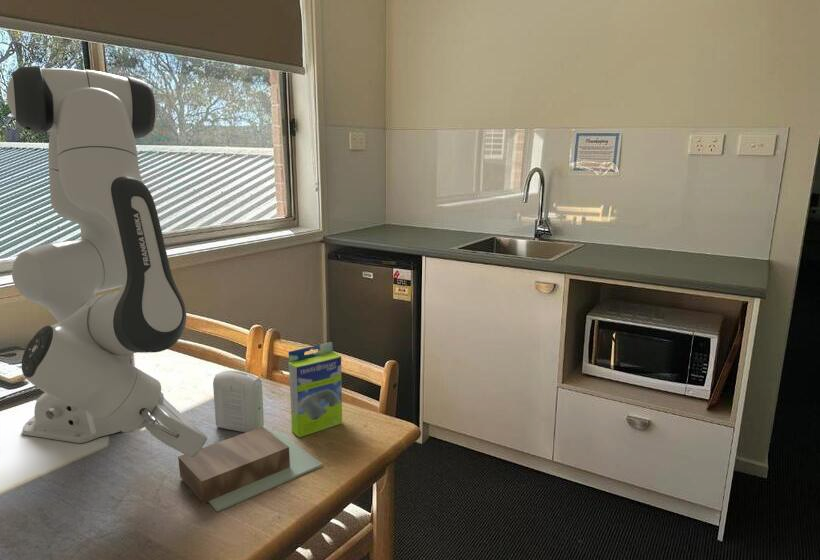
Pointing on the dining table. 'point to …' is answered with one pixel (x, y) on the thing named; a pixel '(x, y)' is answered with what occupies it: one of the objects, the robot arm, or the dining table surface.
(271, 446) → the walnut block
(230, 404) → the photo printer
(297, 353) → the box
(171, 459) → the dining table surface
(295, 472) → the mat
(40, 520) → the dining table surface
